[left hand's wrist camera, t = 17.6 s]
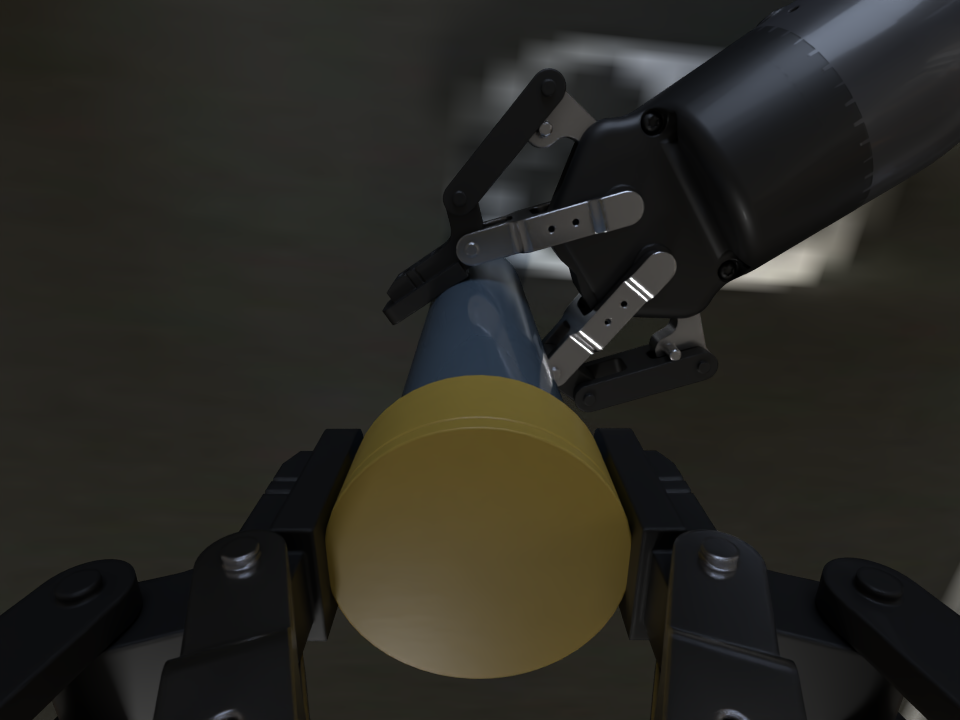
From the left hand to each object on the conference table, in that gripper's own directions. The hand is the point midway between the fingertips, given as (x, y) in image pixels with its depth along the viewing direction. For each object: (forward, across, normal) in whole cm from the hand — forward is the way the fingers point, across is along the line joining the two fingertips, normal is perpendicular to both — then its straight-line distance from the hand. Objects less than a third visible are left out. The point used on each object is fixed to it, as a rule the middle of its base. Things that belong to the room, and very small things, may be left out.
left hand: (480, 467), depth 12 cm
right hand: (+11, -2, -2) cm, 12 cm away
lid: (-3, 0, 0) cm, 3 cm away
